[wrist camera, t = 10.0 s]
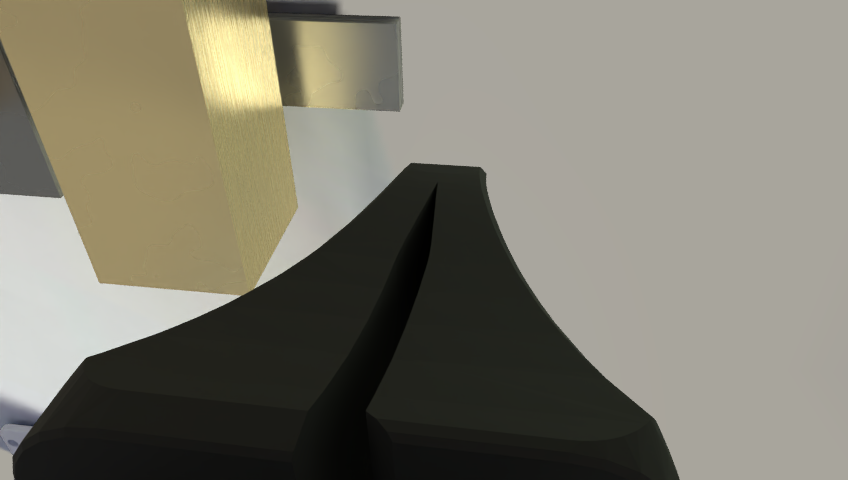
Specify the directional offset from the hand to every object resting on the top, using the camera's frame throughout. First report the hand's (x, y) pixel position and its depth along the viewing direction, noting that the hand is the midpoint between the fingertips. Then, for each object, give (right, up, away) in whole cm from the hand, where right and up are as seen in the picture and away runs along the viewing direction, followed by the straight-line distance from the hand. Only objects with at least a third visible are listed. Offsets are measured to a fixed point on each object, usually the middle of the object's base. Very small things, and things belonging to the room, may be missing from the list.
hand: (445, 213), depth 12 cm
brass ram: (-6, +4, +5) cm, 9 cm away
